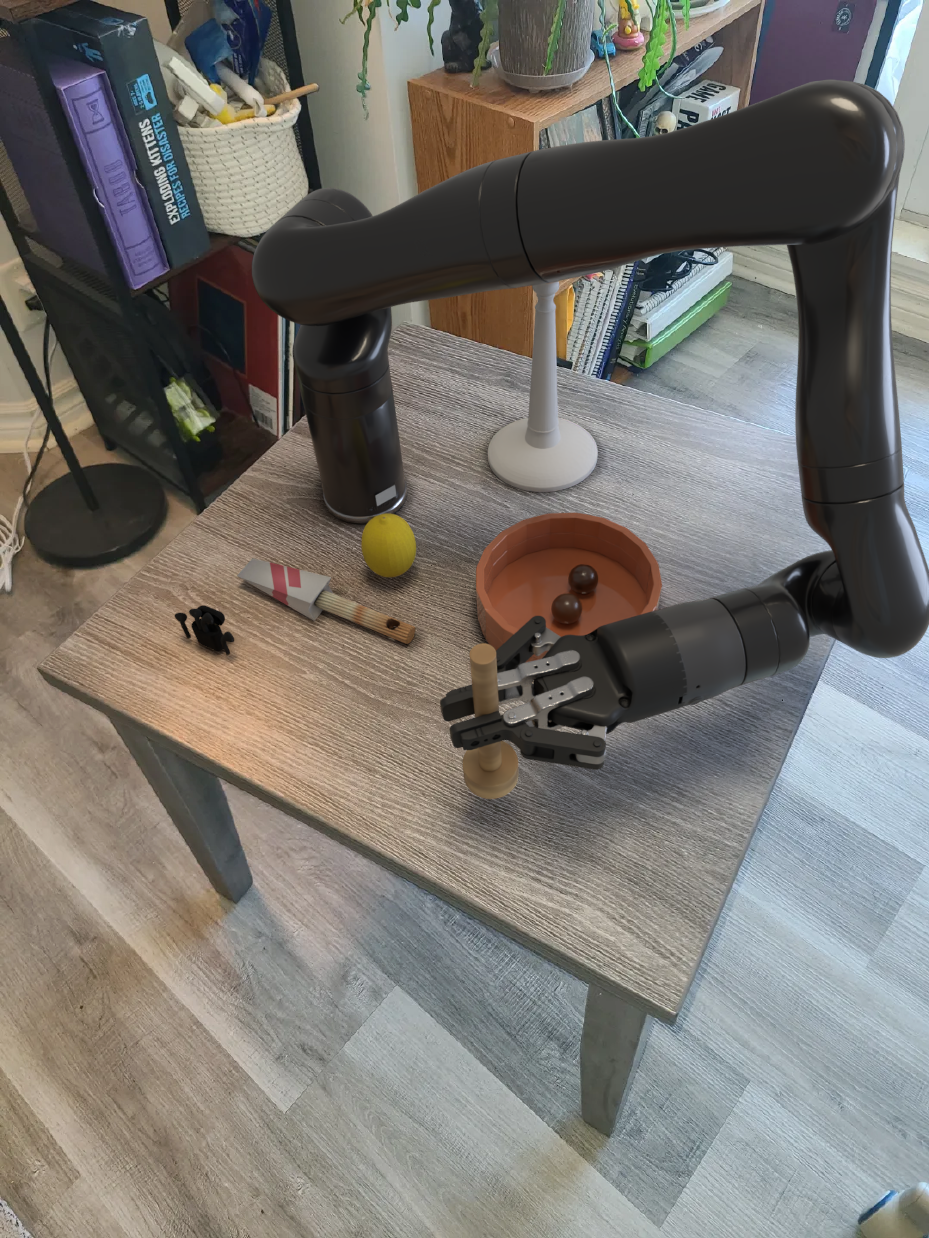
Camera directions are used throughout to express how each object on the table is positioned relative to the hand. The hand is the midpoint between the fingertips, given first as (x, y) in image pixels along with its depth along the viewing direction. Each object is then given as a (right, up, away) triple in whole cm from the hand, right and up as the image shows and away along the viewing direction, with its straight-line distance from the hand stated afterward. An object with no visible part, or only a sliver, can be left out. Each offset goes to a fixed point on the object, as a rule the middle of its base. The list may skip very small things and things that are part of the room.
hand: (447, 724), depth 65 cm
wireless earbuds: (-23, +5, +25) cm, 34 cm away
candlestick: (+10, +27, +40) cm, 49 cm away
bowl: (+11, +8, +25) cm, 29 cm away
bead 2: (+13, +12, +25) cm, 30 cm away
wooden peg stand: (+3, -5, +7) cm, 9 cm away
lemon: (-6, +12, +30) cm, 33 cm away
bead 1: (+11, +9, +22) cm, 26 cm away
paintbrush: (-13, +8, +27) cm, 31 cm away
